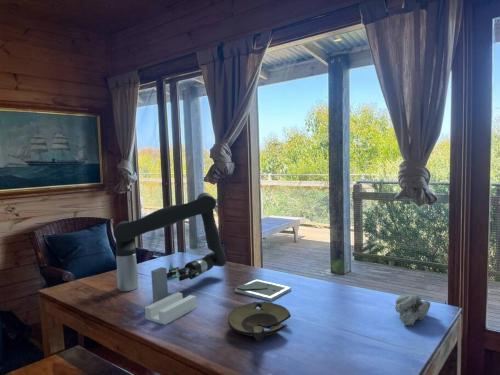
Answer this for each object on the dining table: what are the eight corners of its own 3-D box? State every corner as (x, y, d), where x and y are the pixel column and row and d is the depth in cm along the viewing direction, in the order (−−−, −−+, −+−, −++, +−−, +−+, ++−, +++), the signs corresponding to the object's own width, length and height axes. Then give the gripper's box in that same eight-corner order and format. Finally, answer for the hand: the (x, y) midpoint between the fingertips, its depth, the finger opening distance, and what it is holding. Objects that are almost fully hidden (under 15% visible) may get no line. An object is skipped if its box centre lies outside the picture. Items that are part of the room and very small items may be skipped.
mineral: (440, 308, 136) (426, 283, 139) (430, 324, 122) (415, 295, 125) (409, 318, 143) (396, 293, 145) (396, 333, 129) (383, 306, 132)
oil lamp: (298, 318, 139) (297, 298, 138) (271, 359, 111) (270, 335, 111) (244, 311, 148) (244, 292, 147) (208, 347, 120) (206, 324, 120)
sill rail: (145, 318, 144) (144, 307, 144) (177, 302, 159) (176, 292, 159) (165, 324, 138) (164, 312, 138) (196, 307, 153) (196, 296, 153)
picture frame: (235, 293, 169) (271, 302, 156) (234, 287, 169) (270, 296, 156) (256, 283, 181) (291, 291, 168) (256, 277, 181) (291, 285, 168)
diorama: (201, 272, 201) (200, 257, 201) (171, 283, 186) (170, 266, 186) (186, 269, 209) (186, 254, 209) (157, 278, 194) (156, 263, 194)
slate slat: (153, 304, 158) (151, 271, 157) (163, 300, 163) (161, 267, 162) (158, 306, 156) (156, 271, 155) (168, 301, 161) (166, 268, 160)
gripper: (184, 258, 183) (160, 267, 169) (207, 262, 175) (183, 271, 161) (185, 273, 183) (161, 283, 170) (207, 277, 176) (184, 288, 162)
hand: (172, 277), depth 166 cm, fingers open, 8 cm apart
